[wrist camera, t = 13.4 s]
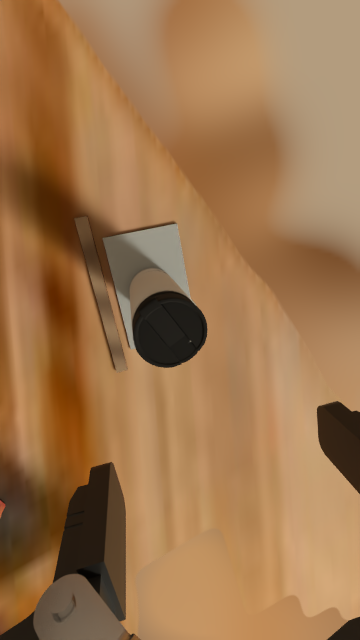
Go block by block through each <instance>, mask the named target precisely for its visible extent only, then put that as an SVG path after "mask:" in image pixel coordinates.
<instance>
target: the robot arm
mask: <svg viewBox="0 0 360 640" xmlns="http://www.w3.org/2000/svg"><path fill="white" fill-rule="evenodd" d="M317 420H318V437H319V443H320V446H321V448H322V450H323V452H324V454H325V455H326V456H327V457H328V458H329V460H330V461H331V462H332V463H333V464H334V465H335V466H336V468H337V469H338V470H339V471H340V472H341V473H342V474H343V476H344V477H345V478H346V479H347V480H348V481H349V482H350V483H351V485H352V486H353V487H354V488H355V489H356V490H357V491H358V493H359V494H360V412H358V411H353V412H351V411H350V410H349V409H348V408H347V407H345V406H344V405H343V404H342V403H340V402H338V401H336V402H332V403H329V404H325V405H321V406H318V408H317ZM64 528H65V531H64V532H63V537H62V542H61V546H60V551H59V556H58V561H57V566H56V571H55V576H54V580H53V584H52V585H50V587H49V588H48V589H47V590H46V591H45V592H44V594H43V595H42V597H41V598H40V600H39V602H38V604H37V606H36V609H35V611H34V612H33V613H32V614H31V615H30V616H28V617H27V618H26V619H24V620H23V621H22V622H20V623H19V624H17V625H16V626H14V627H13V628H11V629H10V630H8V631H7V632H5V633H4V634H2V635H1V636H0V640H140V639H139V638H138V637H137V636H136V635H135V634H132V635H130V634H129V633H128V632H127V631H126V629H125V628H124V627H123V625H122V624H121V623H120V622H119V621H122V620H125V619H126V511H125V502H124V497H123V493H122V490H121V486H120V483H119V480H118V477H117V474H116V470H115V467H114V465H113V463H112V462H110V463H106V464H103V465H99V466H95V467H92V468H91V470H90V477H89V483H88V485H84V486H81V487H78V488H77V490H76V492H75V493H74V495H73V497H72V498H71V500H70V502H69V507H68V512H67V518H66V522H65V527H64ZM328 640H360V617H358V618H355V619H352V620H349V621H348V622H347V623H346V624H344V625H343V626H342V627H341V628H340V629H339V630H338V631H336V632H335V633H334V634H333V635H332V636H331V637H330V638H328Z"/></svg>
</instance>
